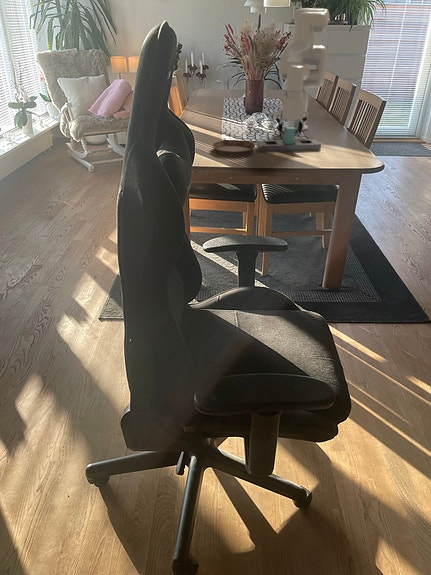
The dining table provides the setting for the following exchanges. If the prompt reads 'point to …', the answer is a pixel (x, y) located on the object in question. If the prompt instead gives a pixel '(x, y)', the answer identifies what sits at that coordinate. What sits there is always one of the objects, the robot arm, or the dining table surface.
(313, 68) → the robot arm
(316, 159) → the dining table surface
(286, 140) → the square block
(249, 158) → the dining table surface
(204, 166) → the dining table surface
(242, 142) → the plant saucer
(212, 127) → the dining table surface
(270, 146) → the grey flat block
